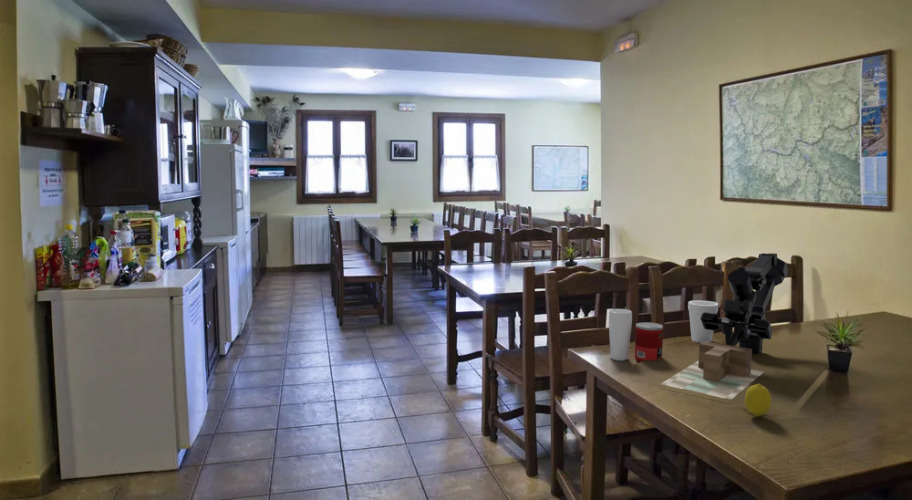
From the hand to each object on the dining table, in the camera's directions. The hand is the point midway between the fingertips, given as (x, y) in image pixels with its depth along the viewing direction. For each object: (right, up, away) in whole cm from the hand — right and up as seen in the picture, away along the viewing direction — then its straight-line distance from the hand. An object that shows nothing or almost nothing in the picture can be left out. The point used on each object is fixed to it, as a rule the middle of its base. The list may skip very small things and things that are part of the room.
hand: (727, 349), depth 179 cm
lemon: (-7, -11, -32) cm, 35 cm away
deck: (-7, -8, -8) cm, 13 cm away
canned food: (-19, -6, +13) cm, 23 cm away
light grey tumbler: (-27, -5, +14) cm, 31 cm away
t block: (-5, -6, -5) cm, 9 cm away
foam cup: (+6, -3, +36) cm, 36 cm away
